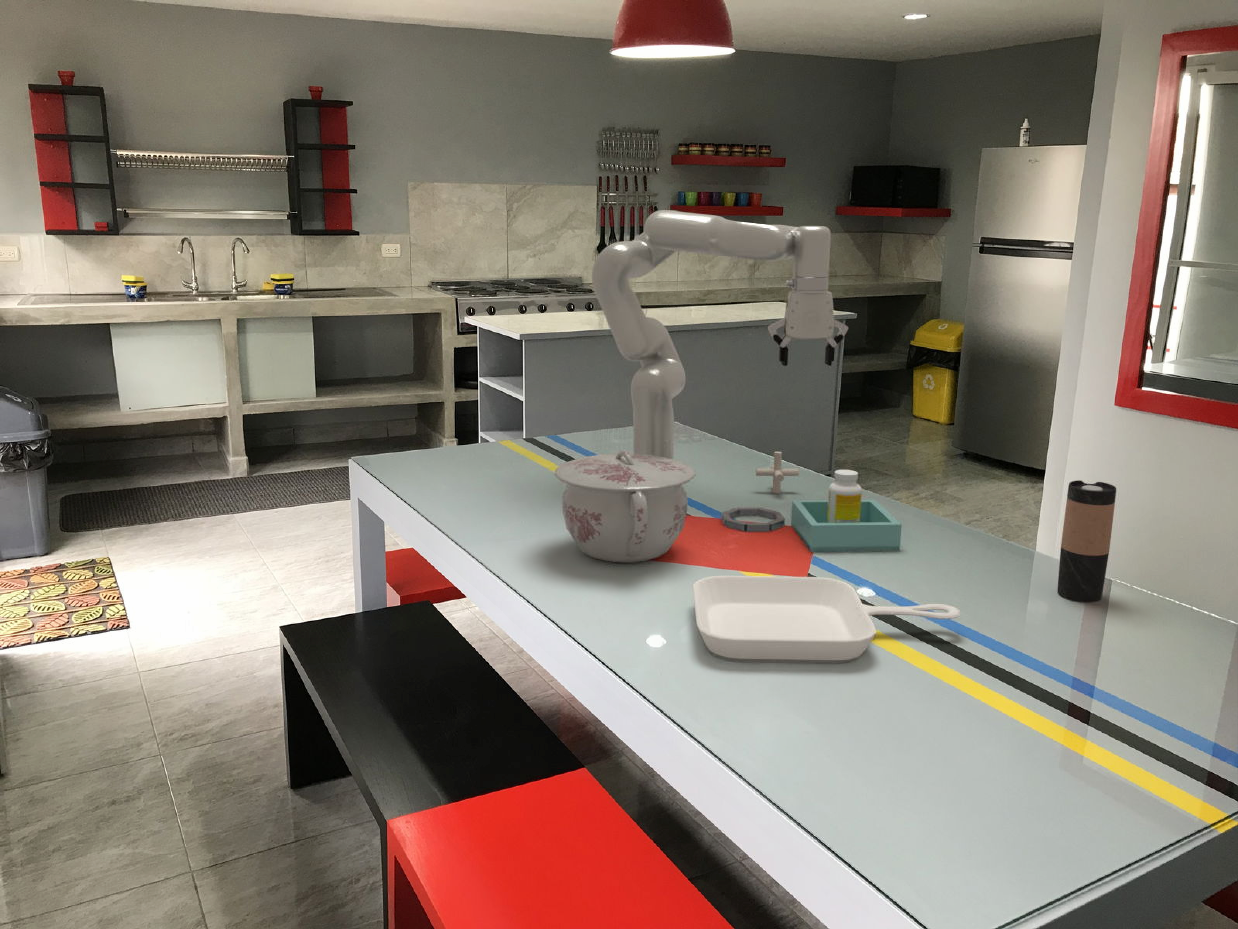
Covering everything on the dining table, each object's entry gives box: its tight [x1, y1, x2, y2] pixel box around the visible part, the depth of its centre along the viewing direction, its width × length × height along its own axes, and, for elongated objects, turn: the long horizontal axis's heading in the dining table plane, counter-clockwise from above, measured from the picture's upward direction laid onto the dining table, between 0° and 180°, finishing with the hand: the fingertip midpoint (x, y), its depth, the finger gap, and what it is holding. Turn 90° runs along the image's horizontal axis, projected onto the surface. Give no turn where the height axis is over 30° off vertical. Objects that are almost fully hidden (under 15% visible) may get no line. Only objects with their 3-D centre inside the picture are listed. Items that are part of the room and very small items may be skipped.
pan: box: [692, 575, 961, 664], centre depth 160 cm, size 27×42×5 cm, turn 88°
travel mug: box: [1057, 479, 1117, 604], centre depth 173 cm, size 8×8×20 cm
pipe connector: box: [755, 451, 800, 495], centre depth 240 cm, size 10×10×10 cm
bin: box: [790, 499, 903, 553], centre depth 207 cm, size 18×18×6 cm
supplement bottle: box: [827, 469, 863, 523], centre depth 206 cm, size 7×7×13 cm
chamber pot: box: [553, 449, 696, 564], centre depth 195 cm, size 28×28×21 cm
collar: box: [720, 506, 786, 533], centre depth 217 cm, size 13×13×2 cm
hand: (806, 364), depth 218 cm, fingers open, 9 cm apart
